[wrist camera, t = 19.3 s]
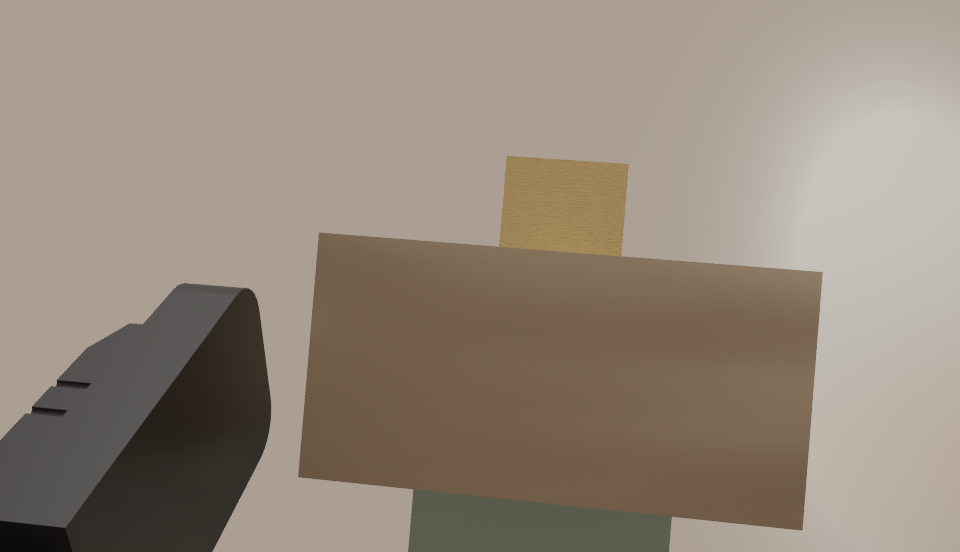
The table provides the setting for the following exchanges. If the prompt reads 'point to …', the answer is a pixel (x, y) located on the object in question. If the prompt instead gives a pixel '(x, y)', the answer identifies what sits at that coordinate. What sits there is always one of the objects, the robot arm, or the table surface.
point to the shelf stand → (528, 526)
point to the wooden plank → (562, 378)
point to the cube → (564, 205)
